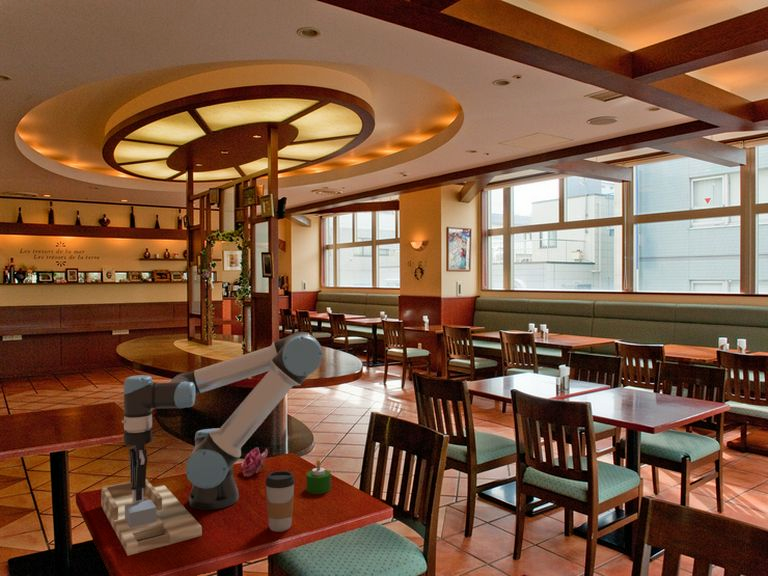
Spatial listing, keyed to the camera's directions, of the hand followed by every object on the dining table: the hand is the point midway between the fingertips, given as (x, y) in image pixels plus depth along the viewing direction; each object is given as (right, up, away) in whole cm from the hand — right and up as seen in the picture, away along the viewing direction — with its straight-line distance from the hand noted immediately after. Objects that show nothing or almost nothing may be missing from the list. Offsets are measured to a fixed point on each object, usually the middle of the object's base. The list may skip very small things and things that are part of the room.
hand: (137, 509), depth 160 cm
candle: (+50, -4, +27) cm, 57 cm away
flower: (+24, -4, +43) cm, 49 cm away
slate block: (+2, -2, -4) cm, 4 cm away
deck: (+2, -4, +2) cm, 5 cm away
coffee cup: (+42, -4, -2) cm, 42 cm away
